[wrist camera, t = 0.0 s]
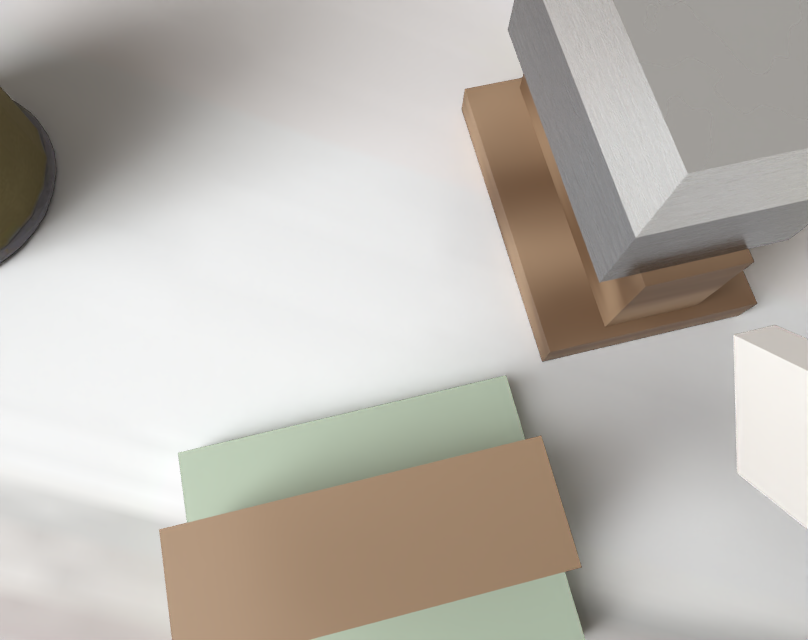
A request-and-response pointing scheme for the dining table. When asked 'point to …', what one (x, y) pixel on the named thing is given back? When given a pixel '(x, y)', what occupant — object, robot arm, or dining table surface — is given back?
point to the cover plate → (693, 102)
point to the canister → (22, 175)
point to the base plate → (594, 184)
